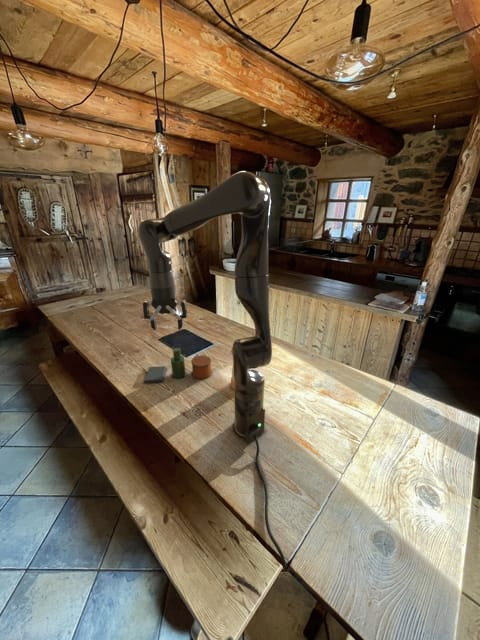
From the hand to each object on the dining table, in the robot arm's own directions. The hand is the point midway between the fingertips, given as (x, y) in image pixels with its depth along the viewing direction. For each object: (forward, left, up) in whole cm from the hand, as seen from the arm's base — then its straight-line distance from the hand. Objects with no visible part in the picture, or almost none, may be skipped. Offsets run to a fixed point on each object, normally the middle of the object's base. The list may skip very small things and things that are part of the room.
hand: (167, 328), depth 93 cm
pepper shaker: (-10, -24, -28) cm, 38 cm away
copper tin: (+6, -15, -28) cm, 32 cm away
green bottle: (+11, -6, -28) cm, 31 cm away
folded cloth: (+16, +3, -28) cm, 32 cm away
